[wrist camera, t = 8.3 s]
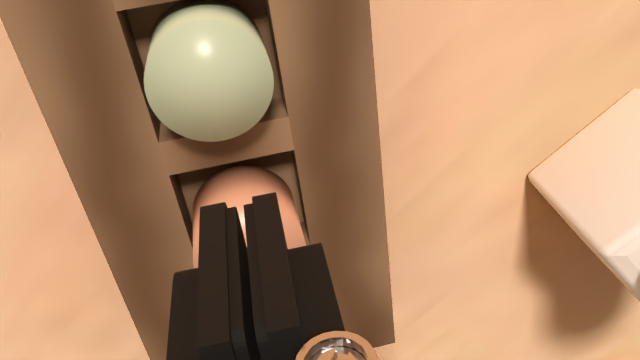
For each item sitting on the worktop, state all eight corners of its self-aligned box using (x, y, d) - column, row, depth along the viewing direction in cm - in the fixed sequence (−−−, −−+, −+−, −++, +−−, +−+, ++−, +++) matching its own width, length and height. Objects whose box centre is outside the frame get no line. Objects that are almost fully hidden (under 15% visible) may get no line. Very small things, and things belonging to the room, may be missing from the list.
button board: (347, -81, 22) (363, -71, 20) (382, 310, 34) (394, 342, 32) (10, -25, 21) (-11, -7, 19) (168, 360, 33) (167, 397, 31)
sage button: (252, -14, 22) (261, 10, 19) (272, 92, 25) (283, 128, 22) (134, 7, 22) (126, 35, 19) (167, 113, 24) (163, 152, 21)
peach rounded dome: (285, 156, 25) (298, 200, 22) (300, 237, 27) (313, 286, 24) (181, 177, 24) (179, 225, 22) (205, 258, 27) (207, 310, 24)
